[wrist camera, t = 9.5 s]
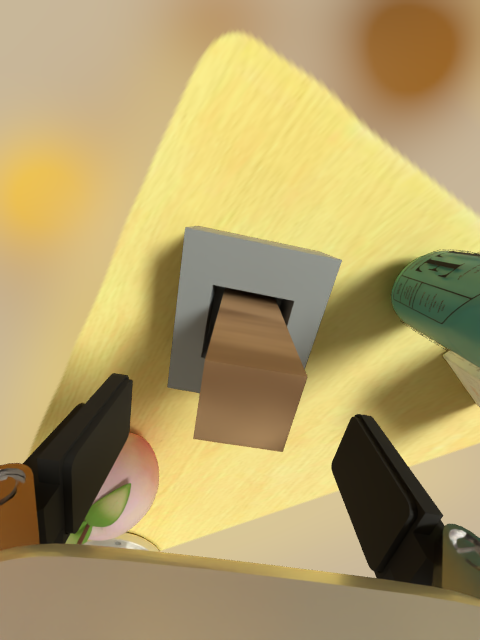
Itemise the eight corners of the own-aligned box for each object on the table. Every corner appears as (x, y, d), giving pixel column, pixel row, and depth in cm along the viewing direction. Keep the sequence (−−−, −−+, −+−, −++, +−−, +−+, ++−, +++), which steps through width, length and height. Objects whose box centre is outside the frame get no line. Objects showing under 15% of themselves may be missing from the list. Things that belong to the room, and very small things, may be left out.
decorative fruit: (144, 479, 31) (100, 591, 21) (83, 446, 29) (6, 553, 19) (188, 434, 28) (161, 540, 19) (124, 395, 26) (58, 491, 17)
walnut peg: (263, 336, 22) (282, 451, 11) (218, 329, 22) (193, 438, 11) (273, 293, 21) (307, 376, 10) (225, 285, 21) (204, 359, 9)
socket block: (282, 373, 25) (290, 408, 20) (181, 355, 24) (167, 387, 20) (319, 251, 21) (341, 260, 16) (198, 225, 20) (185, 227, 15)
